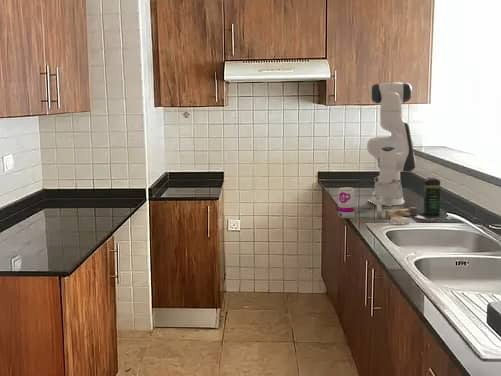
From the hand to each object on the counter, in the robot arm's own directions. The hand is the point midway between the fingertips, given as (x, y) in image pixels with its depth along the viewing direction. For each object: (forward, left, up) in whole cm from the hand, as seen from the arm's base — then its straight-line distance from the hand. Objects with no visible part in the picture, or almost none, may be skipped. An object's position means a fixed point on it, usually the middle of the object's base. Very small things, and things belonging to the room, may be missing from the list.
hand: (388, 206), depth 296 cm
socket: (+20, -7, -5) cm, 21 cm away
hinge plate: (+12, +10, -5) cm, 16 cm away
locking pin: (+4, -8, -5) cm, 10 cm away
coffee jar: (+6, +22, -5) cm, 24 cm away
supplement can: (-8, -20, -5) cm, 22 cm away
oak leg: (+6, +4, -4) cm, 8 cm away
